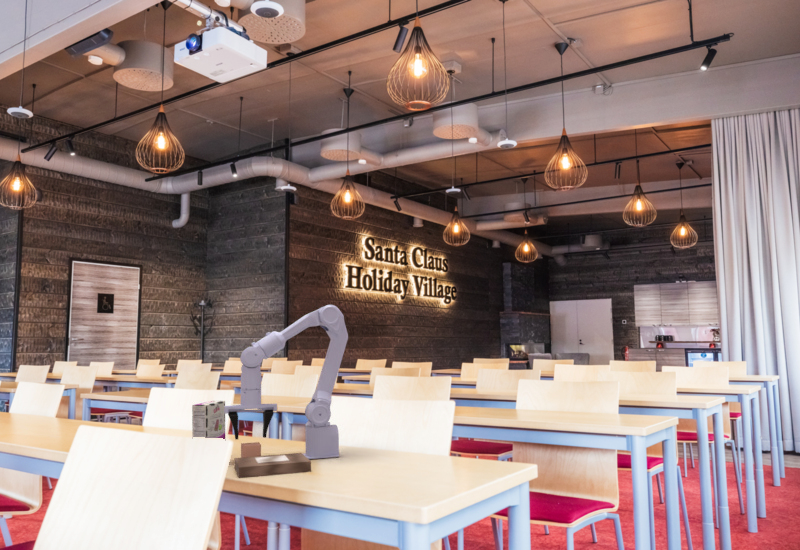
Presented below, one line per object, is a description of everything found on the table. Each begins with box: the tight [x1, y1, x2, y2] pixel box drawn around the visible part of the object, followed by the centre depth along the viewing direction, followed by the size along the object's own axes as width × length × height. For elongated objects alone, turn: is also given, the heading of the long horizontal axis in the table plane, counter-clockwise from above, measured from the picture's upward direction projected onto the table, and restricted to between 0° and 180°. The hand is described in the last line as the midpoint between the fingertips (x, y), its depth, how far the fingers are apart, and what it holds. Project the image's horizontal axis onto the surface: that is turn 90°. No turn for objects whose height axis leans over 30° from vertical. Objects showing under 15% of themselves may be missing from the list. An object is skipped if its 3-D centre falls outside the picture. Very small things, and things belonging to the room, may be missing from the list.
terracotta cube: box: [240, 441, 262, 458], centre depth 175 cm, size 5×5×5 cm
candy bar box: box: [191, 400, 226, 440], centre depth 181 cm, size 11×5×16 cm, turn 168°
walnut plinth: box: [234, 452, 312, 479], centre depth 164 cm, size 18×14×3 cm
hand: (250, 438), depth 176 cm, fingers open, 7 cm apart
